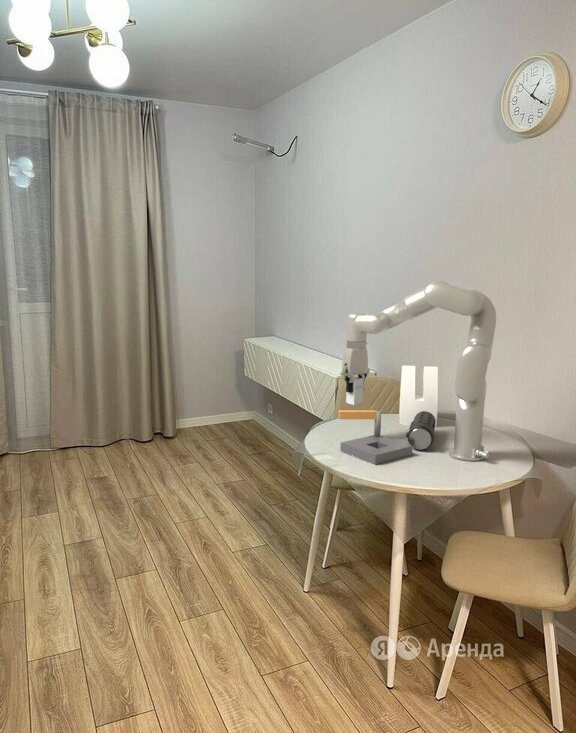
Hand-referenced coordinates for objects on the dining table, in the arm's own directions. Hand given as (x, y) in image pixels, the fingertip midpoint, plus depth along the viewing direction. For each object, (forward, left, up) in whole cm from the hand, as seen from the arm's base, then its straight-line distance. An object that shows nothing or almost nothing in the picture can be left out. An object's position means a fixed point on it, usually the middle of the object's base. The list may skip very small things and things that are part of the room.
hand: (354, 390), depth 224 cm
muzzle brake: (-12, -18, -16) cm, 27 cm away
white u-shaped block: (+6, -45, -20) cm, 50 cm away
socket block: (-17, +4, -20) cm, 27 cm away
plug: (0, 0, -5) cm, 5 cm away
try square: (-6, +3, -16) cm, 18 cm away
